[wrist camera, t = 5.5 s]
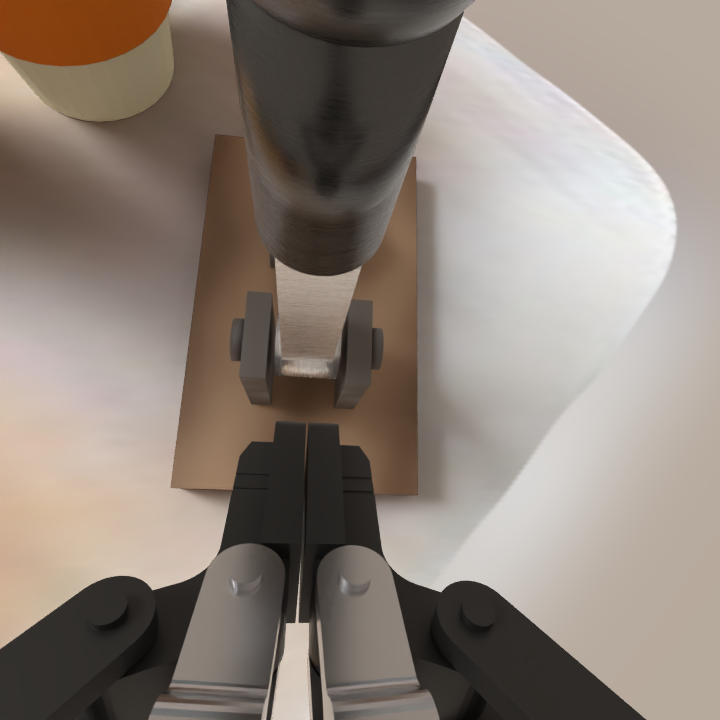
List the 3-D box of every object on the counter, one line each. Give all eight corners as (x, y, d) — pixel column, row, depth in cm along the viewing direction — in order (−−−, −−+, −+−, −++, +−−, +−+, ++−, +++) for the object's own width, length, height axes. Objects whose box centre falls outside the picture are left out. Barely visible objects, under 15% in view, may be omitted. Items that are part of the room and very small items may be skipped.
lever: (263, 390, 21) (28, -472, 2) (269, 313, 22) (141, -743, 3) (345, 394, 22) (714, -301, 3) (347, 319, 23) (636, -587, 4)
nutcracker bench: (179, 488, 25) (130, 485, 17) (220, 156, 31) (196, 43, 23) (408, 495, 27) (455, 494, 19) (408, 177, 32) (445, 77, 24)
